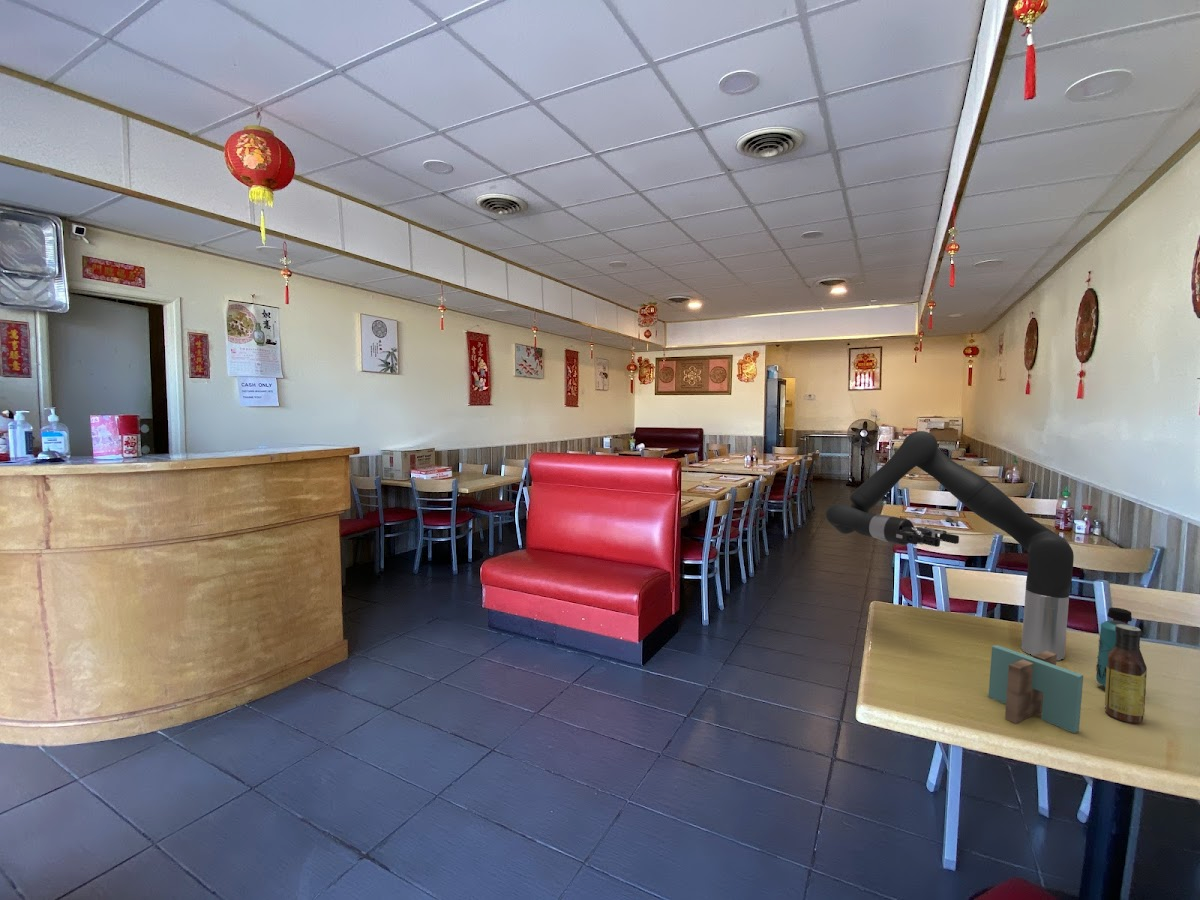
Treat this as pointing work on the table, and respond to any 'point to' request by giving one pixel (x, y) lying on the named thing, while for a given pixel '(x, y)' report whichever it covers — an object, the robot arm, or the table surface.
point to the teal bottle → (1109, 640)
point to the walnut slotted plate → (1024, 689)
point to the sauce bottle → (1126, 676)
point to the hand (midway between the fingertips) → (948, 541)
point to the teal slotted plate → (1041, 687)
